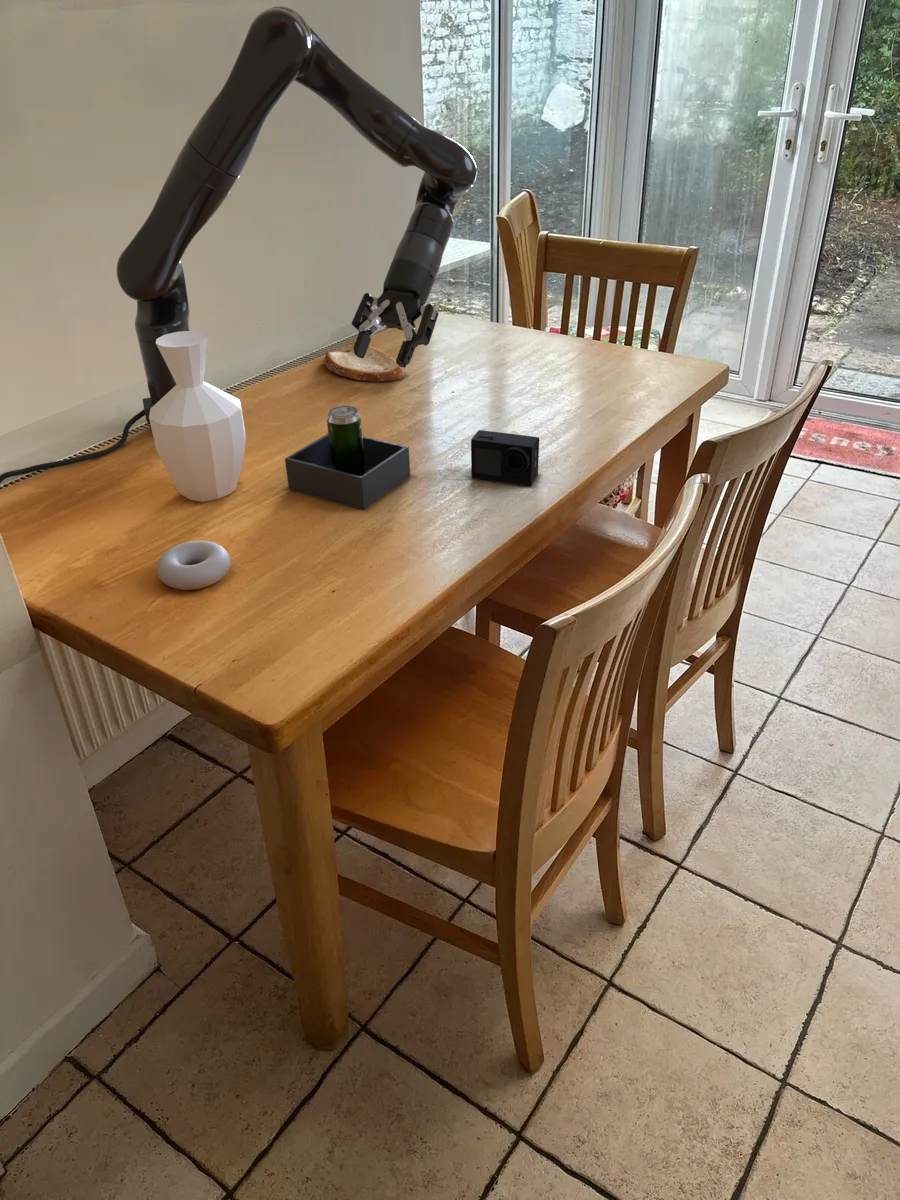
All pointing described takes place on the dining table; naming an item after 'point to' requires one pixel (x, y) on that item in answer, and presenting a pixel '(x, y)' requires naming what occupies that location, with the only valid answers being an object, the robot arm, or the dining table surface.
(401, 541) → the dining table surface
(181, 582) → the donut
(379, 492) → the open rectangular tray
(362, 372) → the bread slice
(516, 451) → the digital camera
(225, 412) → the vase
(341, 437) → the beer can
